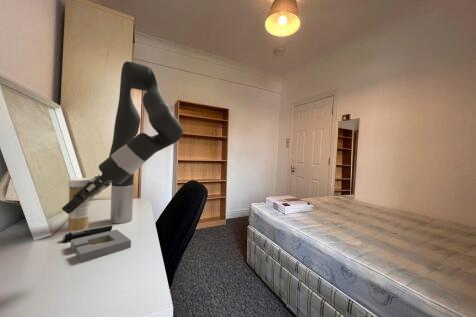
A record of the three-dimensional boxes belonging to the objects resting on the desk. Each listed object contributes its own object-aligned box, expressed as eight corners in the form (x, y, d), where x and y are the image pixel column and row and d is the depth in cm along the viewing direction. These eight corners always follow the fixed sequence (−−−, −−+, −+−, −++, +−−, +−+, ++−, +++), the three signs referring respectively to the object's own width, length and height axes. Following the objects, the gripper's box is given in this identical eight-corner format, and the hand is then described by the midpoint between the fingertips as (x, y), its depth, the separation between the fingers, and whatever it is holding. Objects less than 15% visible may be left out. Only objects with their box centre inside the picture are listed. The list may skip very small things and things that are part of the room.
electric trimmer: (113, 234, 81) (113, 226, 81) (62, 244, 70) (62, 235, 70) (111, 231, 83) (111, 224, 83) (62, 240, 73) (62, 232, 73)
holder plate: (70, 247, 67) (70, 240, 67) (116, 235, 78) (116, 229, 78) (80, 262, 58) (80, 254, 58) (130, 247, 69) (130, 240, 69)
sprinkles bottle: (65, 228, 53) (66, 178, 53) (86, 224, 56) (87, 177, 56) (69, 233, 50) (70, 180, 50) (91, 228, 53) (92, 179, 53)
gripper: (118, 154, 62) (70, 193, 58) (104, 154, 48) (41, 205, 45) (136, 171, 64) (91, 210, 60) (128, 175, 50) (69, 227, 46)
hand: (70, 208), depth 52 cm, fingers closed on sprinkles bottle, 4 cm apart
